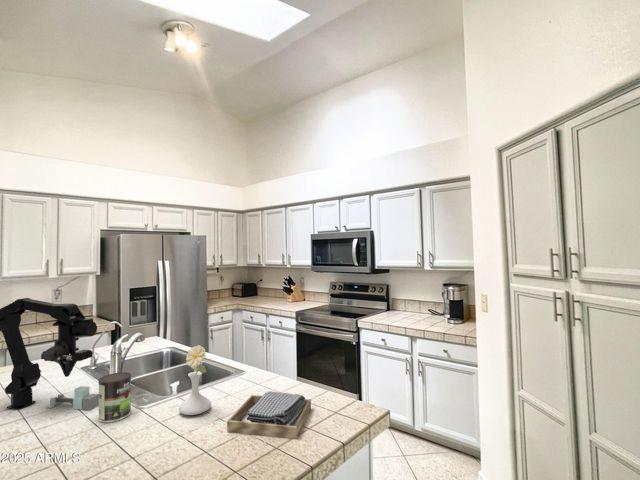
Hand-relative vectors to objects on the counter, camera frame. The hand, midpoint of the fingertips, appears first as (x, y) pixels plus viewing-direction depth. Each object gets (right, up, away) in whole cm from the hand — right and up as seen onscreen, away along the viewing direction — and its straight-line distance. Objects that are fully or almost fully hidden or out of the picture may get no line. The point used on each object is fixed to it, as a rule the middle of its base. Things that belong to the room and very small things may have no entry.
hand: (67, 376), depth 133 cm
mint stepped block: (+7, -11, -2) cm, 13 cm away
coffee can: (+25, -11, -9) cm, 29 cm away
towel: (+85, -10, -15) cm, 87 cm away
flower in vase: (+54, -10, -7) cm, 55 cm away
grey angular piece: (+3, -11, -1) cm, 12 cm away
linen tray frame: (+83, -10, -14) cm, 85 cm away
